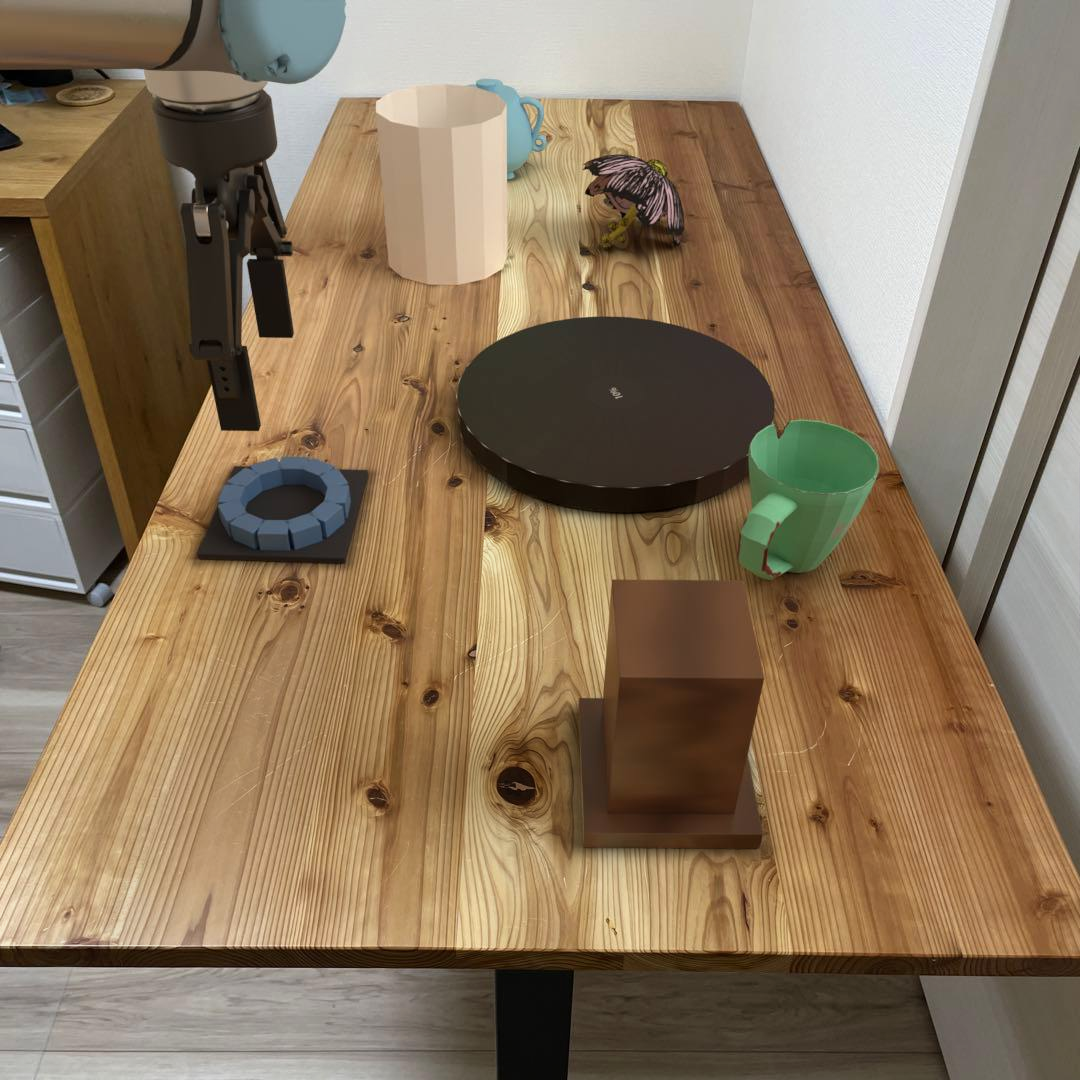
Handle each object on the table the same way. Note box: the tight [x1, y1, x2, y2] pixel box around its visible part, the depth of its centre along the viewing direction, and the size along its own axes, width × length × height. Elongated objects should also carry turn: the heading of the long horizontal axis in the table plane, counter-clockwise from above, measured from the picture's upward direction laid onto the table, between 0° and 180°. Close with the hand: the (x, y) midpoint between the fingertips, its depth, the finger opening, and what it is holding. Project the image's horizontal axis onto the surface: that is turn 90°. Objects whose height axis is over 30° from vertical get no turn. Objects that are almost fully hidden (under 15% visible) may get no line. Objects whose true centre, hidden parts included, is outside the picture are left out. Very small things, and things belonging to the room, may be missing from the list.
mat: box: [196, 465, 369, 564], centre depth 91 cm, size 12×12×1 cm
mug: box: [736, 419, 880, 581], centre depth 83 cm, size 15×10×10 cm
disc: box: [455, 315, 776, 513], centre depth 102 cm, size 30×30×3 cm
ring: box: [217, 456, 351, 551], centre depth 90 cm, size 11×11×2 cm
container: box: [375, 83, 509, 286], centre depth 124 cm, size 14×14×18 cm
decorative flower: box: [582, 153, 685, 250], centre depth 130 cm, size 15×12×15 cm
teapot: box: [466, 78, 548, 180], centre depth 148 cm, size 20×17×12 cm
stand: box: [577, 578, 765, 849], centre depth 66 cm, size 11×11×14 cm
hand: (260, 379), depth 82 cm, fingers open, 13 cm apart
